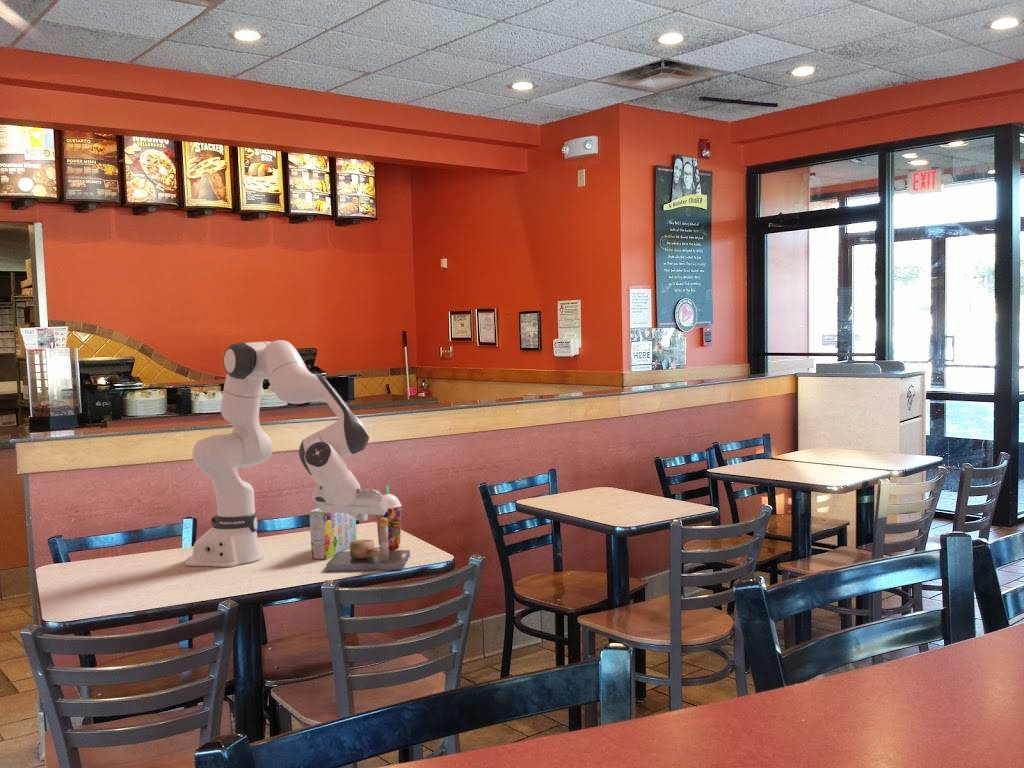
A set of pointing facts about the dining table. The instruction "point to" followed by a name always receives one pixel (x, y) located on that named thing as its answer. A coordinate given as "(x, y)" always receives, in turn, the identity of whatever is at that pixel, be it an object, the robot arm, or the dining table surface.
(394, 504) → the smoothie
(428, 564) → the dining table surface
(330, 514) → the snack box
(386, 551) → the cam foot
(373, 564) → the stand plate
